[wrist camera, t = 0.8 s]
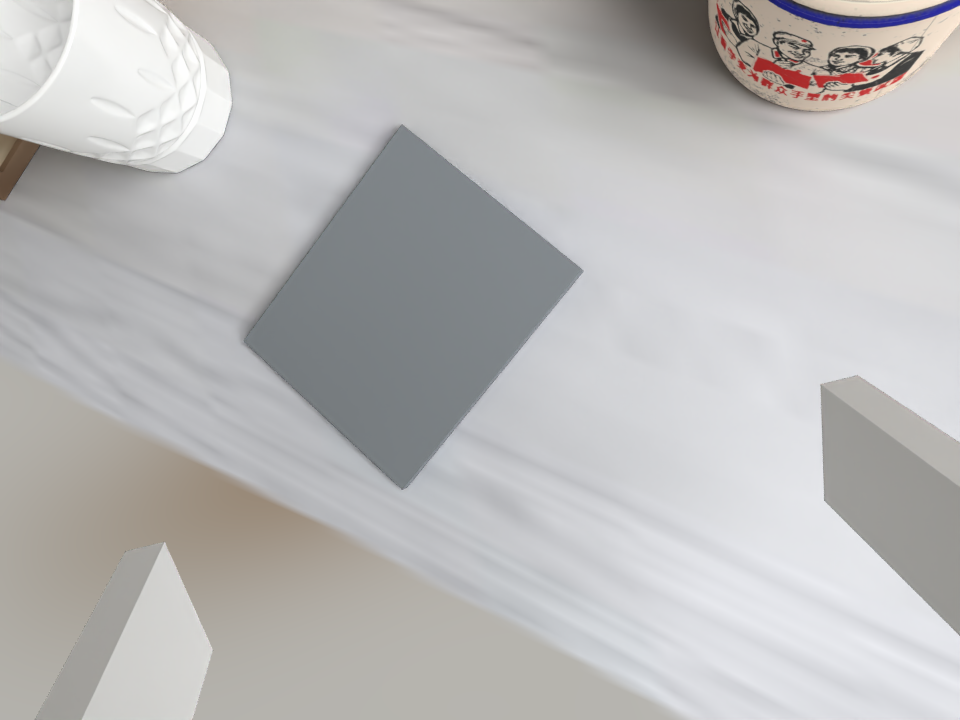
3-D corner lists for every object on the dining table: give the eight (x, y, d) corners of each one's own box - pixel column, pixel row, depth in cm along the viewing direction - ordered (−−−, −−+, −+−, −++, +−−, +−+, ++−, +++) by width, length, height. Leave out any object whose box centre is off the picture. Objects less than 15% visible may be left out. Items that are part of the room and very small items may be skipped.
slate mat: (407, 128, 33) (401, 124, 32) (583, 270, 31) (582, 269, 30) (250, 341, 35) (243, 341, 34) (407, 487, 33) (402, 489, 32)
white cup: (77, 89, 37) (-135, -3, 27) (192, -15, 35) (8, -154, 26) (152, 219, 36) (-42, 170, 26) (274, 118, 34) (115, 26, 25)
